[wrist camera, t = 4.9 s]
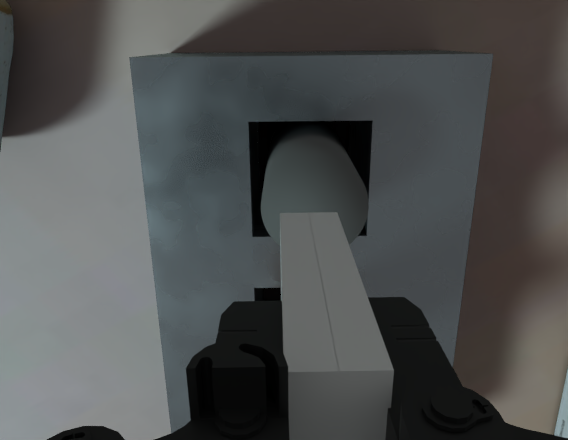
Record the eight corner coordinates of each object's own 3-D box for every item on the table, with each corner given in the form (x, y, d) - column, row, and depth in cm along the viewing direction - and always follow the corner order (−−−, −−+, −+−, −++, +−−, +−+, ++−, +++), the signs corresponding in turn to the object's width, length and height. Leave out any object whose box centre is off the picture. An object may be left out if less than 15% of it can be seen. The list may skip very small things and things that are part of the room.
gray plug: (269, 185, 27) (262, 257, 18) (268, 115, 26) (259, 155, 17) (339, 185, 27) (366, 256, 18) (341, 114, 26) (371, 154, 17)
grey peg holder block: (201, 433, 34) (182, 527, 27) (169, 53, 25) (129, 57, 19) (403, 432, 34) (432, 526, 27) (439, 50, 25) (493, 53, 19)
